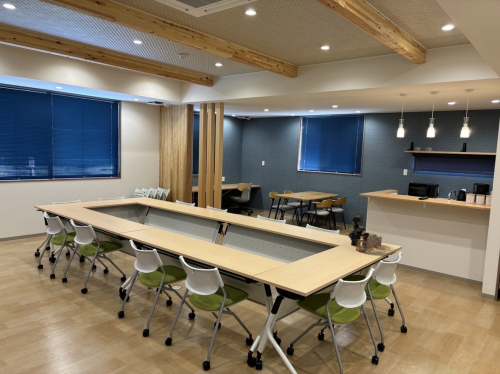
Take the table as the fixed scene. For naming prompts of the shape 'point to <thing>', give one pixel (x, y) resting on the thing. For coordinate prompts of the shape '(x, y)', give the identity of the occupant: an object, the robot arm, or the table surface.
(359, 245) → the open wooden box
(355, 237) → the robot arm
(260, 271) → the table surface
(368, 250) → the dock
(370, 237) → the stack of blocks
